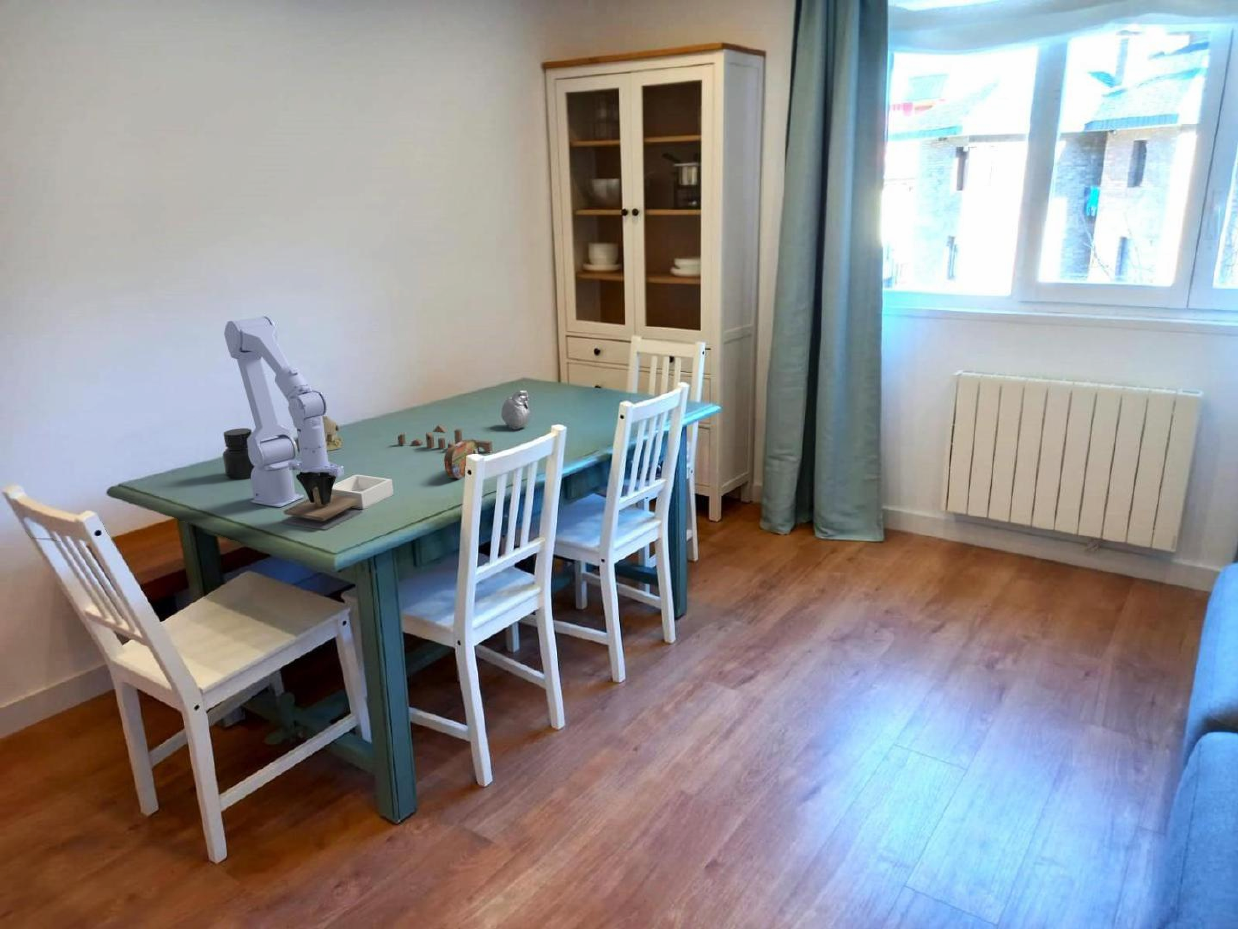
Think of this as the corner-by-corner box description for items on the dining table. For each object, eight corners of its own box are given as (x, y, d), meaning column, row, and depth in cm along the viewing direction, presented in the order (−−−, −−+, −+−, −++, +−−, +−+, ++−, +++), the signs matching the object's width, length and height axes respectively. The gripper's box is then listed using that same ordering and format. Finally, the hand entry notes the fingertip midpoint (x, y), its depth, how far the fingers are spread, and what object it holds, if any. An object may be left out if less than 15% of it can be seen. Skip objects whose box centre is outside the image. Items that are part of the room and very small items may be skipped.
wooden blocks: (494, 452, 248) (493, 427, 245) (490, 455, 245) (488, 429, 243) (403, 443, 257) (401, 419, 255) (398, 446, 254) (396, 421, 252)
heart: (498, 423, 275) (496, 388, 269) (527, 419, 277) (526, 385, 272) (504, 436, 266) (502, 400, 261) (534, 433, 269) (533, 397, 263)
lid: (284, 516, 196) (280, 494, 194) (321, 498, 206) (317, 477, 204) (323, 523, 191) (320, 501, 189) (359, 504, 201) (356, 483, 199)
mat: (281, 522, 196) (281, 521, 196) (319, 505, 206) (319, 504, 206) (325, 530, 191) (325, 529, 191) (362, 512, 201) (362, 511, 201)
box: (327, 503, 207) (325, 488, 206) (358, 489, 217) (356, 474, 216) (363, 509, 203) (361, 493, 202) (393, 494, 212) (391, 479, 211)
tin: (454, 483, 220) (451, 451, 218) (443, 482, 221) (440, 450, 219) (481, 465, 234) (479, 435, 231) (471, 464, 235) (469, 434, 232)
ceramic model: (349, 441, 261) (345, 408, 257) (337, 452, 250) (332, 418, 247) (303, 442, 261) (298, 409, 258) (288, 452, 250) (284, 419, 247)
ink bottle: (270, 470, 234) (264, 428, 230) (249, 481, 225) (241, 437, 222) (240, 468, 236) (233, 426, 232) (217, 478, 228) (210, 435, 224)
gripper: (274, 447, 193) (283, 504, 197) (324, 453, 187) (332, 512, 191) (298, 439, 199) (306, 494, 203) (347, 445, 193) (354, 502, 197)
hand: (320, 502), depth 198 cm, fingers closed on lid, 3 cm apart
